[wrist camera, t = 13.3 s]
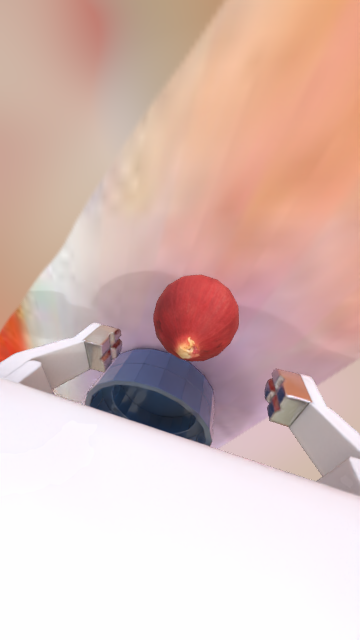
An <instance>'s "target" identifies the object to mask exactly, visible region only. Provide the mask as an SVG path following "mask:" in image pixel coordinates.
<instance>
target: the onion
mask: <svg viewBox="0 0 360 640" xmlns="http://www.w3.org/2000/svg"><path fill="white" fill-rule="evenodd" d="M153 321H154V326H155V331H156V335H157V338H158V339H159V341H160V342H161V343H162V345H163V346H164V348H165V349H166V350H167V351H168V352H169V353H171V354H173V355H174V356H176V357H177V358H179V359H183V360H187V361H204V360H207V359H209V358H212V357H214V356H217V355H218V354H219V353H221V352H222V351H223V350H224V349H225V348H226V347H227V346H228V345H229V344H230V342H231V340H232V338H233V337H234V335H235V333H236V331H237V329H238V326H239V312H238V305H237V303H236V301H235V299H234V297H233V295H232V293H231V292H230V290H229V289H228V288H227V287H225V286H224V285H223V284H222V283H220V282H219V281H218V280H216V279H213V278H210V277H207V276H204V275H191V276H184V277H181V278H179V279H178V280H176V281H174V282H173V283H171V284H169V285H168V286H167V287H166V289H165V290H164V291H163V293H162V294H161V296H160V297H159V299H158V301H157V303H156V307H155V311H154V317H153Z"/></svg>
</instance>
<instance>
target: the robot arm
mask: <svg viewBox="0 0 360 640" xmlns="http://www.w3.org/2000/svg"><path fill="white" fill-rule="evenodd" d="M120 336H121V330H120V329H117V328H114V327H110V326H106V325H102V324H99V323H92V324H91V325H89V326H88V327H87V328H85V329H84V330H83V331H81V332H80V333H79V334H77V335H76V336H75V337H73V338H67V339H64V340H60V341H57V342H53V343H50V344H46V345H43V346H39V347H36V348H32V349H29V350H25V351H22V352H18V353H15V354H13V355H12V356H10V357H8V358H7V359H5V360H4V361H2V362H0V640H360V434H359V433H358V432H357V431H356V430H355V429H353V428H352V427H351V426H350V425H349V424H348V423H347V422H346V421H344V420H343V419H342V418H341V417H340V416H339V415H338V414H337V413H336V412H334V411H333V410H332V409H331V408H327V406H326V404H325V402H324V400H323V398H322V396H321V394H320V392H319V390H318V388H317V386H316V384H315V382H314V380H313V378H311V377H310V376H306V375H302V374H297V373H293V372H289V371H284V370H280V369H275V370H274V371H273V372H272V379H269V380H268V381H267V383H266V386H265V399H266V400H267V402H268V403H269V405H268V407H267V410H268V416H269V421H272V422H275V423H278V424H281V425H284V426H287V427H289V428H290V430H291V432H292V433H293V435H294V436H295V438H296V439H297V440H298V442H299V443H300V445H301V446H302V448H303V449H304V451H305V452H306V454H307V455H308V456H309V458H310V459H311V461H312V462H313V463H314V465H315V467H316V468H317V469H318V471H319V472H320V474H321V475H322V477H321V478H320V479H319V480H317V481H313V480H310V479H307V478H304V477H301V476H298V475H295V474H292V473H289V472H286V471H283V470H280V469H277V468H274V467H271V466H268V465H264V464H261V463H259V462H256V461H253V460H249V459H246V458H244V457H241V456H237V455H234V454H231V453H228V452H225V451H222V450H219V449H216V448H213V447H210V446H207V445H204V444H201V443H198V442H195V441H192V440H189V439H186V438H183V437H180V436H177V435H174V434H171V433H168V432H165V431H162V430H159V429H156V428H153V427H150V426H147V425H144V424H141V423H138V422H135V421H131V420H128V419H125V418H122V417H119V416H116V415H113V414H110V413H107V412H104V411H101V410H98V409H95V408H92V407H89V406H86V405H83V404H80V403H77V402H74V401H71V400H68V399H65V398H62V397H59V396H56V395H54V392H53V390H52V389H54V388H56V387H58V386H60V385H62V384H63V383H65V382H67V381H69V380H71V379H73V378H75V377H76V376H78V375H80V374H82V373H84V372H86V371H88V370H90V369H94V370H98V371H101V372H105V371H106V370H107V369H108V368H109V366H110V365H111V364H112V360H113V359H115V358H117V357H118V355H119V354H120V351H121V349H122V341H121V340H120V339H119V337H120Z"/></svg>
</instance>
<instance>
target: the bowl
mask: <svg viewBox="0 0 360 640" xmlns="http://www.w3.org/2000/svg"><path fill="white" fill-rule="evenodd" d="M85 405H86V406H89V407H92V408H95V409H98V410H101V411H104V412H107V413H110V414H113V415H116V416H119V417H122V418H125V419H128V420H131V421H135V422H138V423H141V424H144V425H147V426H150V427H153V428H156V429H159V430H162V431H165V432H168V433H171V434H174V435H177V436H180V437H183V438H186V439H189V440H192V441H195V442H198V443H201V444H204V445H207V446H210V445H211V443H212V435H213V419H214V405H215V400H214V394H213V389H212V387H211V386H210V384H209V383H208V381H207V379H206V378H205V376H204V375H203V374H202V373H201V372H200V371H198V370H197V369H196V368H195V367H194V366H193V365H192V364H190V363H189V362H187V361H185V360H183V359H179V358H177V357H176V356H174V355H173V354H171V353H167V352H163V351H159V350H155V349H133V350H130V351H128V352H125V353H122V354H120V355H118V357H117V358H115V359H114V360H113V361H112V364H111V365H110V366H109V368H108V369H107V370H106V371H105V372H103V373H102V375H101V376H100V377H99V378H98V380H97V381H96V382H95V384H94V385H93V386H92V387H91V389H90V390H89V391H88V393H87V397H86V401H85Z"/></svg>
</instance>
